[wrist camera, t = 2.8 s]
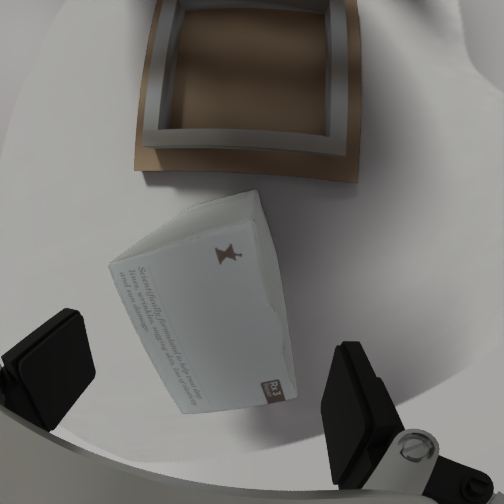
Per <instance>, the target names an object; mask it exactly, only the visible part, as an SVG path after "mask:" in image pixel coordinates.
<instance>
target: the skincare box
mask: <svg viewBox="0 0 504 504" xmlns="http://www.w3.org/2000/svg"><path fill="white" fill-rule="evenodd" d="M108 267H109V270H110V273H111V275H112V278H113V280H114V283H115V285H116V288H117V290H118V292H119V295H120V297H121V299H122V302H123V304H124V306H125V308H126V310H127V313H128V315H129V317H130V319H131V321H132V324H133V326H134V328H135V330H136V332H137V334H138V336H139V338H140V340H141V342H142V344H143V346H144V348H145V350H146V352H147V354H148V356H149V358H150V360H151V361H152V363H153V365H154V367H155V369H156V371H157V372H158V374H159V376H160V378H161V380H162V381H163V383H164V385H165V386H166V388H167V390H168V392H169V393H170V395H171V397H172V398H173V400H174V402H175V403H176V405H177V407H178V408H179V410H180V411H181V413H183V414H197V413H208V412H217V411H225V410H233V409H241V408H247V407H253V406H260V405H265V404H270V403H275V402H280V401H285V400H290V399H294V398H297V397H298V390H297V384H296V376H295V369H294V362H293V355H292V348H291V341H290V334H289V327H288V320H287V313H286V306H285V300H284V293H283V287H282V281H281V275H280V270H279V264H278V259H277V254H276V250H275V247H274V243H273V240H272V237H271V233H270V230H269V227H268V224H267V220H266V217H265V214H264V211H263V209H262V206H261V202H260V197H259V193H258V190H250V191H246V192H243V193H239V194H235V195H231V196H227V197H223V198H220V199H216V200H213V201H209V202H206V203H202V204H199V205H195V206H192V207H190V208H189V209H187V210H186V211H184V212H183V213H181V214H179V215H178V216H176V217H175V218H174V219H172V220H171V221H169V222H167V223H166V224H164V225H163V226H161V227H160V228H158V229H157V230H155V231H154V232H152V233H151V234H149V235H148V236H146V237H145V238H144V239H142V240H141V241H139V242H138V243H137V244H135V245H134V246H132V247H131V248H129V249H128V250H127V251H125V252H124V253H123V254H121V255H120V256H119V257H117V258H116V259H115V260H113V261H112V262H111V263H109V265H108Z"/></svg>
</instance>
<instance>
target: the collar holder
mask: <svg viewBox="0 0 504 504" xmlns="http://www.w3.org/2000/svg"><path fill="white" fill-rule="evenodd" d="M360 134H361V50H360V32H359V19H358V8H357V0H157V4H156V8H155V12H154V16H153V21H152V25H151V30H150V35H149V40H148V45H147V51H146V56H145V62H144V69H143V75H142V82H141V90H140V98H139V107H138V117H137V128H136V142H135V159H134V171H215V172H238V173H256V174H271V175H284V176H295V177H306V178H316V179H325V180H334V181H342V182H350V183H357V181H358V169H359V154H360Z"/></svg>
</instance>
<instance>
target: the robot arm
mask: <svg viewBox="0 0 504 504" xmlns="http://www.w3.org/2000/svg"><path fill="white" fill-rule="evenodd" d="M1 358H2V361H3V363H4V366H3V367H1V364H0V504H504V494H502V493H501V492H498V493H497V494H495V493H493V490H494V487H493V482H492V480H491V478H490V477H489V476H488V475H487V474H485V473H483V472H481V471H479V470H476V469H473V468H470V467H467V466H465V465H462V464H460V463H457V462H454V461H452V460H449V459H447V458H444V457H442V456H440V455H439V444H438V442H437V440H436V439H435V437H433V436H432V435H431V434H430V433H428V432H426V431H424V430H420V429H408V430H405V428H404V426H403V424H402V422H401V419H400V417H399V415H398V413H397V411H396V408H395V406H394V404H393V402H392V400H391V398H390V396H389V393H388V391H387V389H386V387H385V385H384V383H383V381H382V380H381V378H379V377H376V375H375V373H374V371H373V368H372V366H371V364H370V362H369V360H368V358H367V356H366V354H365V352H364V350H363V348H362V346H361V344H360V342H358V341H343V342H342V344H341V345H337V346H336V348H335V352H334V356H333V360H332V364H331V368H330V372H329V376H328V380H327V383H326V387H325V391H324V394H323V398H322V401H321V415H322V421H323V426H324V432H325V438H326V443H327V450H328V456H329V463H330V469H331V476H332V482H333V484H334V485H338V487H339V490H327V491H326V490H322V491H321V490H318V491H275V490H258V489H245V488H234V487H226V486H218V485H211V484H205V483H199V482H194V481H188V480H183V479H179V478H174V477H170V476H165V475H161V474H157V473H153V472H150V471H146V470H143V469H139V468H135V467H132V466H129V465H126V464H123V463H120V462H117V461H114V460H111V459H109V458H106V457H103V456H100V455H98V454H95V453H93V452H90V451H88V450H85V449H83V448H81V447H78V446H76V445H74V444H71V443H69V442H67V441H65V440H63V439H61V438H59V437H57V436H55V435H53V434H51V433H49V432H50V431H51V430H54V429H55V428H56V427H57V425H58V424H59V423H60V421H61V420H62V419H63V417H64V416H65V415H66V414H67V412H68V411H69V410H70V408H71V407H72V406H73V404H74V403H75V402H76V401H77V399H78V398H79V397H80V395H81V394H82V393H83V392H84V390H85V389H86V388H87V387H88V385H89V384H90V383H91V382H92V380H93V379H94V377H95V374H96V371H95V367H94V363H93V359H92V355H91V351H90V347H89V342H88V338H87V333H86V329H85V324H84V319H83V316H82V315H81V314H80V312H79V311H78V310H74V309H69V308H65V309H63V310H62V311H60V312H59V313H57V314H56V315H55V316H53V317H52V318H51V319H49V320H48V321H47V322H45V323H44V324H42V325H41V326H40V327H38V328H37V329H36V330H35V331H33V332H32V333H31V334H29V335H28V336H27V337H25V338H24V339H23V340H21V341H20V342H19V343H18V344H16V345H15V346H14V347H13V348H11V349H10V350H9V351H8V352H6V353H5V354H4V355H3V356H1Z"/></svg>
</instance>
